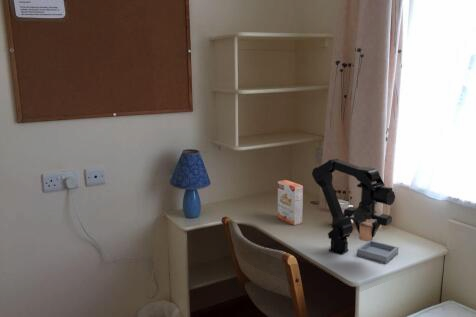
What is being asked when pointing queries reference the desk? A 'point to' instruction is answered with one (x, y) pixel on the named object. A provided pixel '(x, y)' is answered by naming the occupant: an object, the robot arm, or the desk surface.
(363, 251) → the tray
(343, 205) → the ink cartridge box
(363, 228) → the terracotta cup
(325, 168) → the robot arm
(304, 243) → the desk surface
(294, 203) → the cracker box
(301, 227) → the desk surface
